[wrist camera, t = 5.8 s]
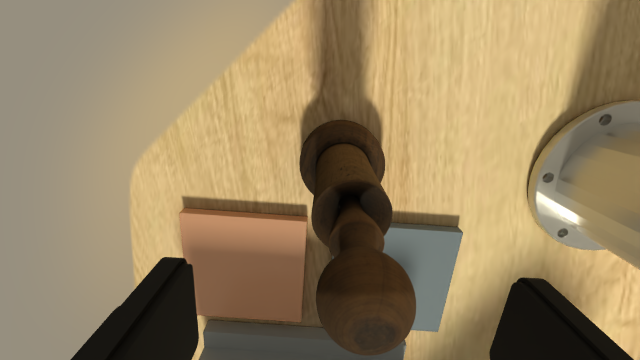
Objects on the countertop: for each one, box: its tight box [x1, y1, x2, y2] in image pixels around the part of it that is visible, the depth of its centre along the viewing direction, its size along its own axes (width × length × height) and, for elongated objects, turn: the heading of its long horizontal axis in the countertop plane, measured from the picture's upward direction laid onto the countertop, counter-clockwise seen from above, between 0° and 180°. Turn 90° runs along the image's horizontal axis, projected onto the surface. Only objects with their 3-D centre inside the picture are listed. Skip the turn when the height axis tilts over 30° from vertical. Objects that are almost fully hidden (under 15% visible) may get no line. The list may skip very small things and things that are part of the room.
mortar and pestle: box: [300, 120, 416, 356], centre depth 16 cm, size 7×6×18 cm
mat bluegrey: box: [332, 223, 463, 332], centre depth 28 cm, size 11×11×1 cm
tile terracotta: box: [179, 208, 307, 322], centre depth 28 cm, size 11×11×1 cm
